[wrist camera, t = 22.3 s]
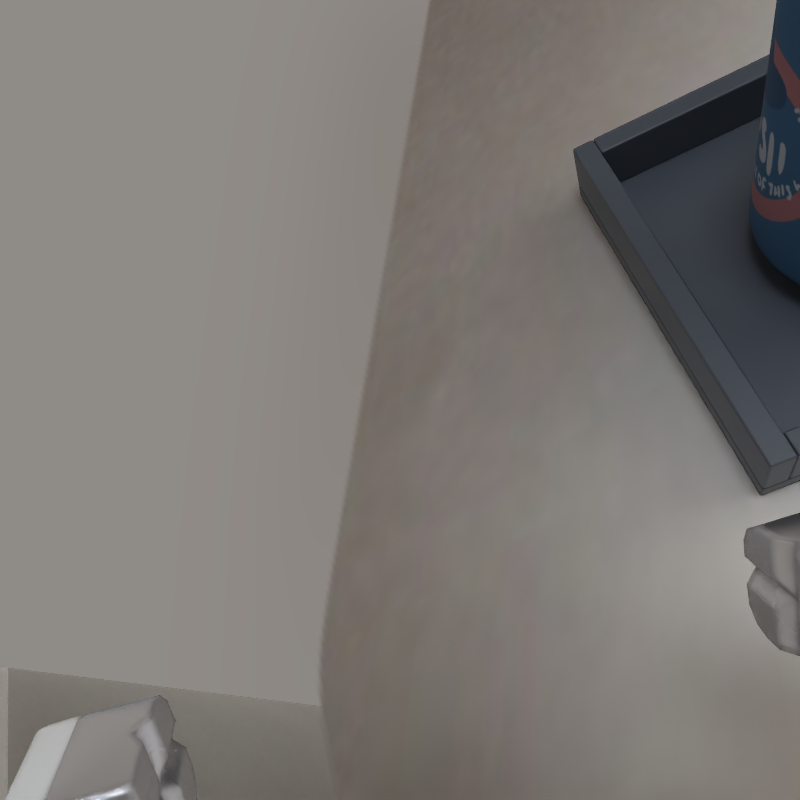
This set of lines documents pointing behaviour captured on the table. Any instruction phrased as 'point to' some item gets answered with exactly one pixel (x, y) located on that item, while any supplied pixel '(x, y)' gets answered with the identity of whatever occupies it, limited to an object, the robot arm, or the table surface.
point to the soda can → (780, 149)
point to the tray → (707, 260)
